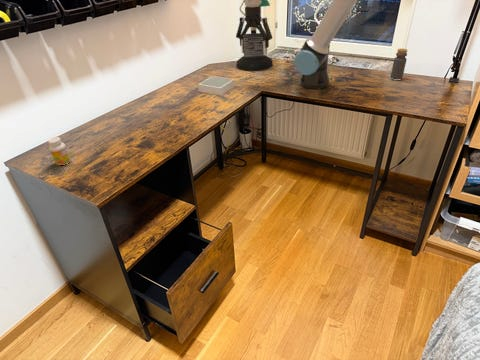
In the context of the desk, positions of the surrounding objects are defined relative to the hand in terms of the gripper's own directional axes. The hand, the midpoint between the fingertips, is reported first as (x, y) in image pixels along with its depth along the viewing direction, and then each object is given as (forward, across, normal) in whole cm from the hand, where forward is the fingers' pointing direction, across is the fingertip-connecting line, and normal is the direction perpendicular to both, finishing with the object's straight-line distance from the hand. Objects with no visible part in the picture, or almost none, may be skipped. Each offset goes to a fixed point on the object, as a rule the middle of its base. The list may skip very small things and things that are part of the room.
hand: (254, 53), depth 168 cm
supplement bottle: (+17, -30, -97) cm, 103 cm away
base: (+17, -18, -11) cm, 27 cm away
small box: (+2, 0, 0) cm, 2 cm away
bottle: (+18, +64, +38) cm, 77 cm away
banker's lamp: (+17, -18, +33) cm, 41 cm away
